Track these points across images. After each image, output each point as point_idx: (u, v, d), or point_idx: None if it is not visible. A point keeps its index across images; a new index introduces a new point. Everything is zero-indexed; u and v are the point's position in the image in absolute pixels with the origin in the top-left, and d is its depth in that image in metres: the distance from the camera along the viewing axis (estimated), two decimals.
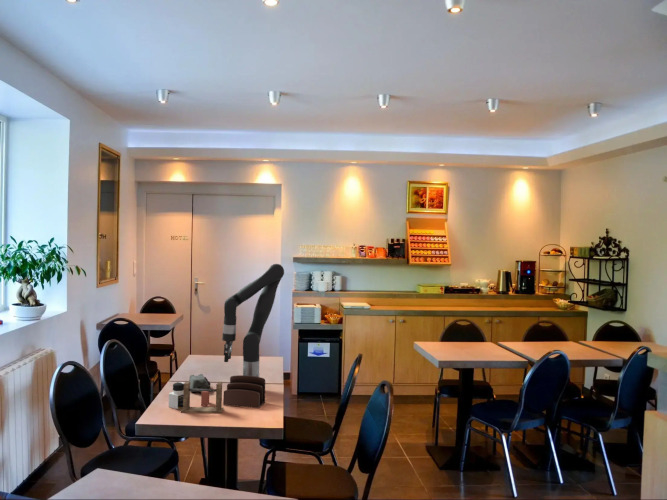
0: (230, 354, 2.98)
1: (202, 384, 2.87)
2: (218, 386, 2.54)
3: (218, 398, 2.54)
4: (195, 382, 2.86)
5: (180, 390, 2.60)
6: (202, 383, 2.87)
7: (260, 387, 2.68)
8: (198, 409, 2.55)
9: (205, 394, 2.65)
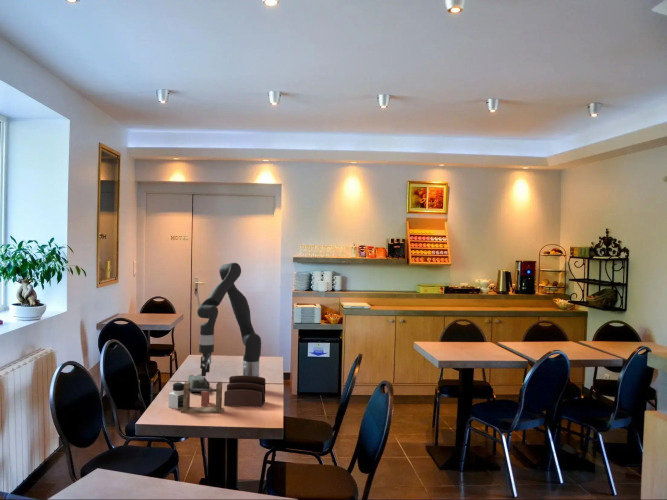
0: (209, 367, 2.71)
1: (201, 384, 2.87)
2: (218, 386, 2.54)
3: (218, 398, 2.54)
4: (194, 382, 2.86)
5: (180, 390, 2.60)
6: (201, 383, 2.87)
7: (261, 386, 2.69)
8: (198, 409, 2.55)
9: (205, 394, 2.65)
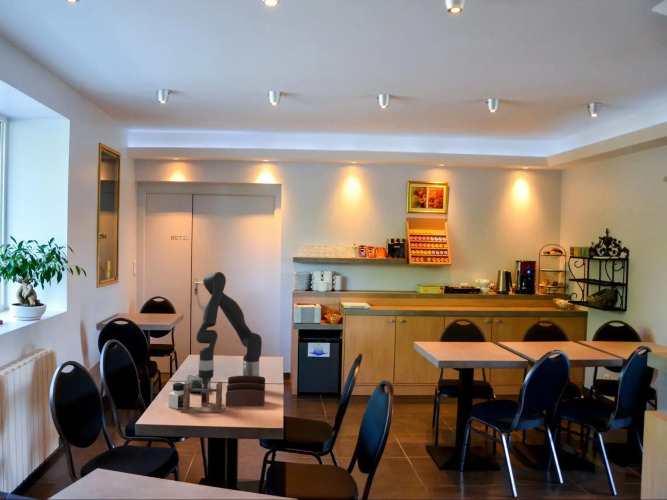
0: None
1: (200, 384, 2.87)
2: (218, 386, 2.54)
3: (218, 398, 2.54)
4: (193, 382, 2.86)
5: (180, 390, 2.60)
6: (200, 383, 2.87)
7: (262, 386, 2.71)
8: (198, 409, 2.55)
9: None
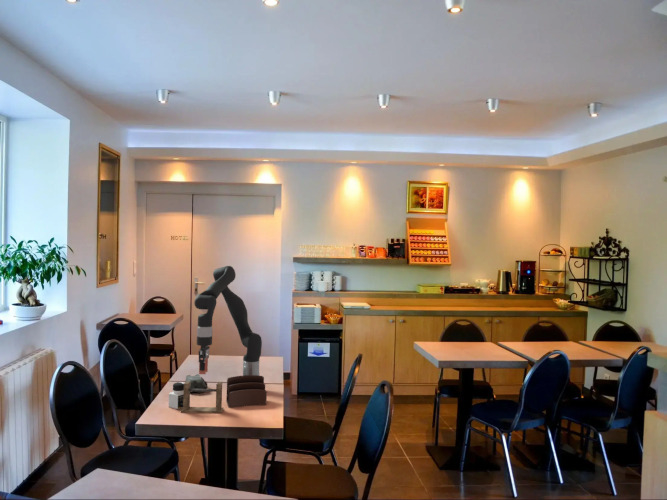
0: None
1: (199, 384, 2.86)
2: (218, 386, 2.54)
3: (218, 398, 2.54)
4: (192, 382, 2.85)
5: (180, 390, 2.60)
6: (199, 383, 2.87)
7: (263, 385, 2.73)
8: (198, 409, 2.55)
9: None
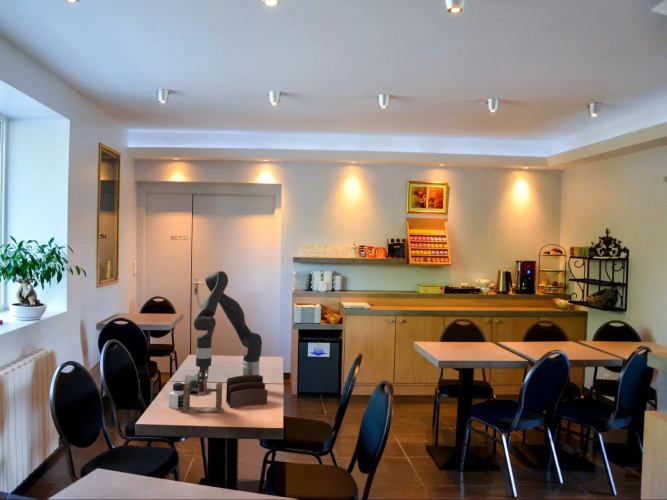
0: None
1: None
2: (218, 386, 2.54)
3: (218, 398, 2.54)
4: (191, 382, 2.85)
5: (180, 390, 2.60)
6: None
7: (263, 384, 2.74)
8: (198, 409, 2.55)
9: None
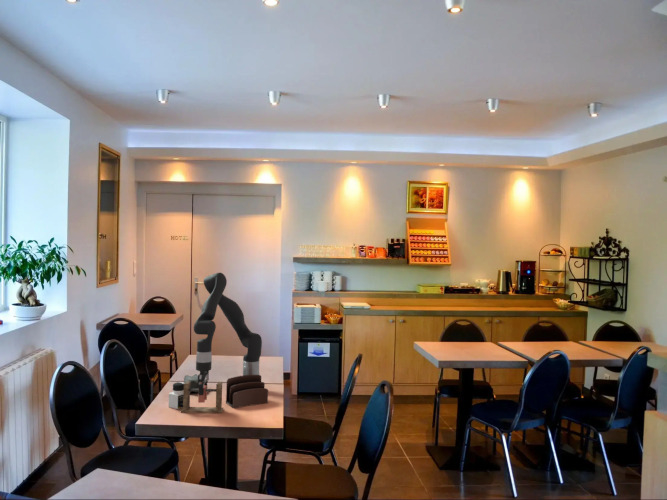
0: None
1: None
2: (218, 386, 2.54)
3: (218, 398, 2.54)
4: (191, 382, 2.85)
5: (180, 390, 2.60)
6: None
7: (262, 383, 2.76)
8: (198, 409, 2.55)
9: None
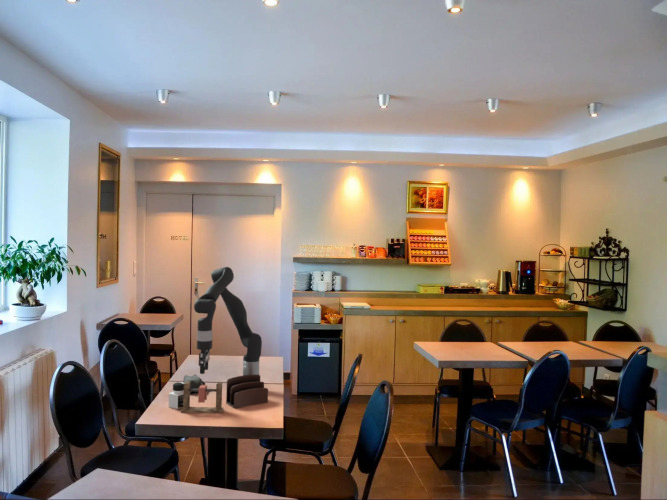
0: (207, 364, 2.60)
1: (197, 384, 2.86)
2: (218, 386, 2.54)
3: (218, 398, 2.54)
4: (190, 382, 2.85)
5: (180, 390, 2.60)
6: (197, 383, 2.86)
7: (262, 383, 2.77)
8: (198, 409, 2.55)
9: (202, 390, 2.54)
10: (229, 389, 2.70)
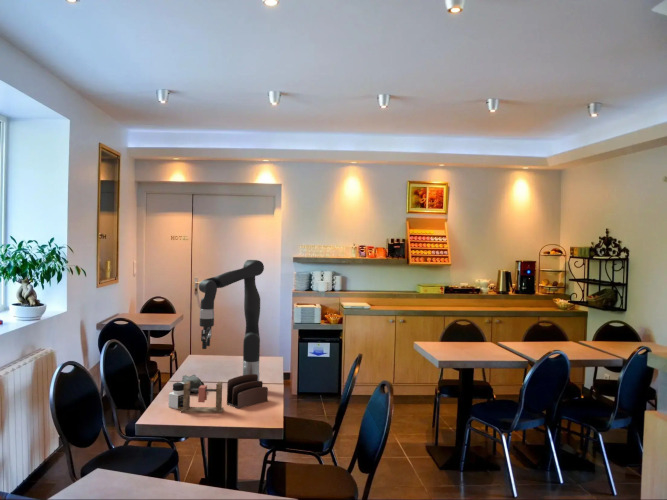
0: (209, 341, 2.79)
1: (196, 384, 2.86)
2: (218, 386, 2.54)
3: (218, 398, 2.54)
4: None
5: (180, 390, 2.60)
6: (196, 383, 2.86)
7: (261, 382, 2.78)
8: (198, 409, 2.55)
9: (202, 390, 2.54)
10: (230, 390, 2.69)
